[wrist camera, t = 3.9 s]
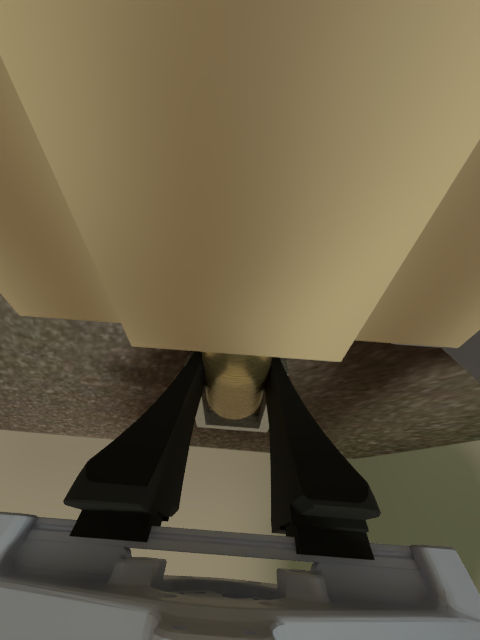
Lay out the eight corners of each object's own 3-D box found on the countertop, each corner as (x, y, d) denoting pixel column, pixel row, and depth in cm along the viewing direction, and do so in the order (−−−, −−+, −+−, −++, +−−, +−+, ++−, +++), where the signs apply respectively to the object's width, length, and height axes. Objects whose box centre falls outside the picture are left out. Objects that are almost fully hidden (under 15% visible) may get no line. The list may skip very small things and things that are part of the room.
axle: (204, 230, 9) (174, 260, 5) (289, 237, 8) (310, 272, 5) (212, 365, 15) (200, 416, 12) (261, 369, 15) (263, 422, 11)
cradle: (285, 359, 15) (288, 374, 14) (266, 419, 21) (267, 432, 20) (189, 352, 15) (184, 366, 14) (199, 414, 21) (197, 427, 20)
